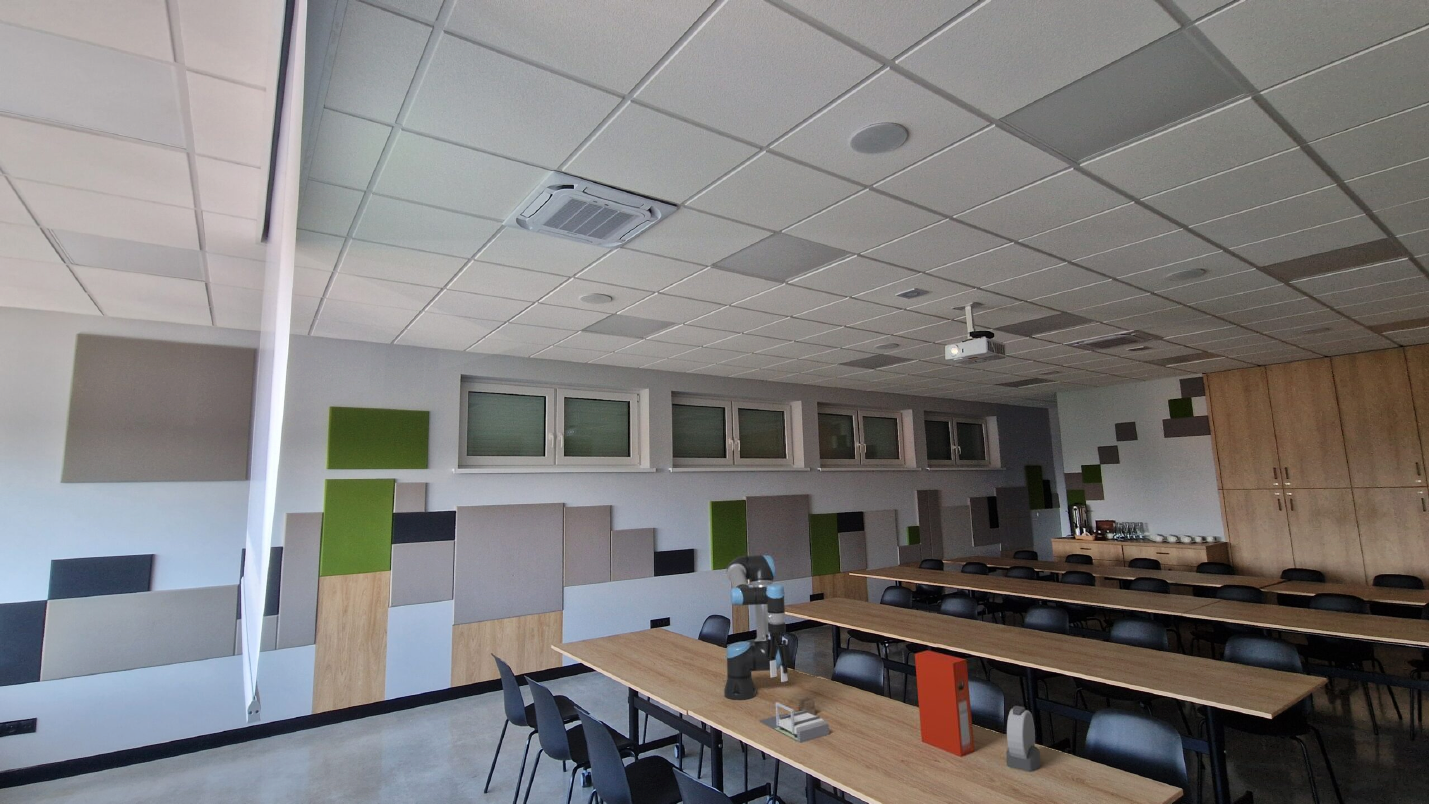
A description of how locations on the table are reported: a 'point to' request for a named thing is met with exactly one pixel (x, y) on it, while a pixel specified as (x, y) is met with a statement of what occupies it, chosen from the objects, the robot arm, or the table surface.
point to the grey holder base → (801, 734)
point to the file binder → (944, 702)
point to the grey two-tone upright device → (1021, 741)
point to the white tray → (796, 720)
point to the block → (806, 705)
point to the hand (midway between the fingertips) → (778, 678)
